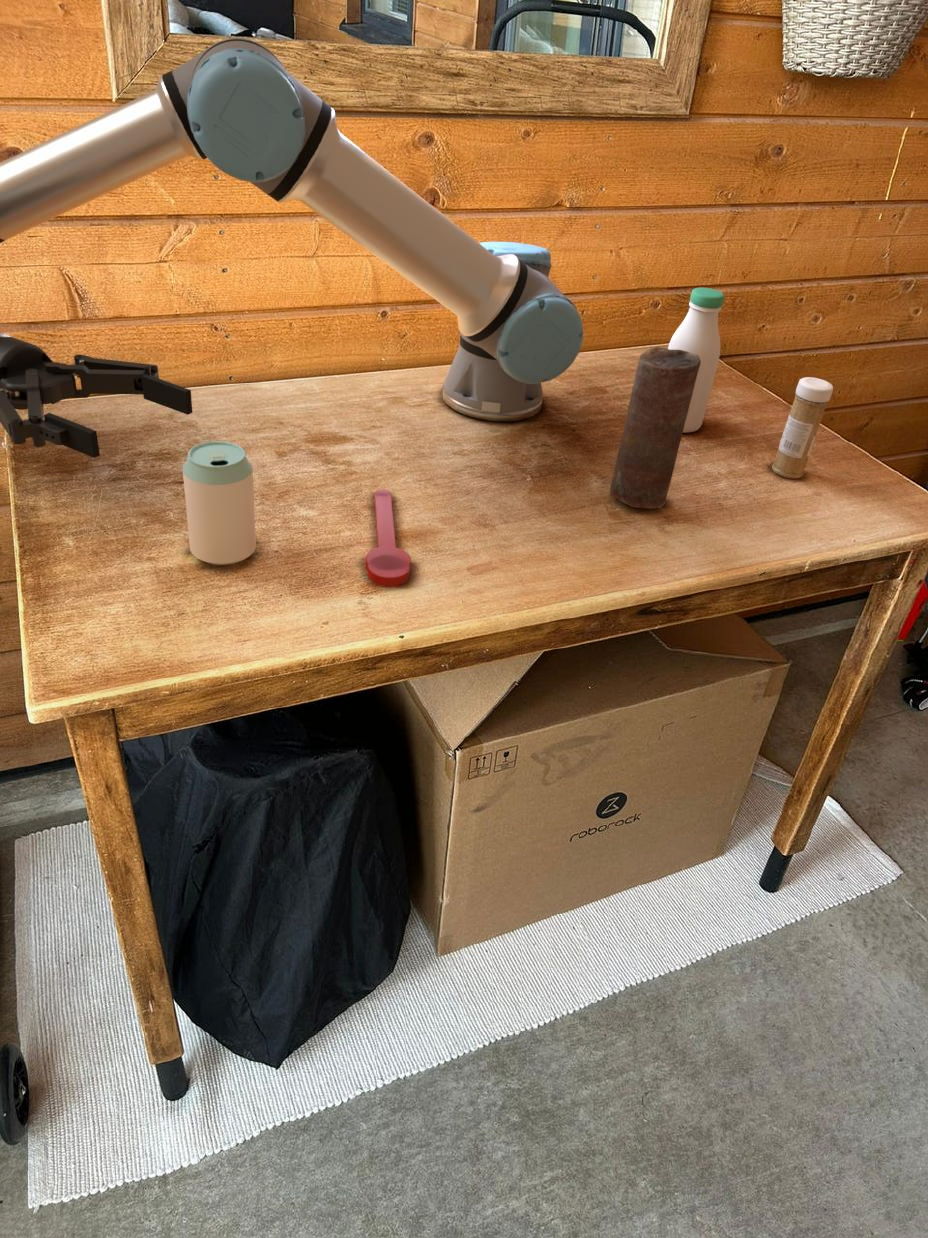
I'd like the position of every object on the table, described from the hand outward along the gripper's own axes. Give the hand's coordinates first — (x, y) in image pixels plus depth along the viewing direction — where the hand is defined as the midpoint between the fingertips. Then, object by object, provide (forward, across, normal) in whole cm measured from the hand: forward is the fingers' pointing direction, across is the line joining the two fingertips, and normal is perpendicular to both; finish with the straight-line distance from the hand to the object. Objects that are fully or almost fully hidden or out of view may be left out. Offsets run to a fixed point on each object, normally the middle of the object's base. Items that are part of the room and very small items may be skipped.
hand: (145, 422), depth 99 cm
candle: (+44, -41, -12) cm, 61 cm away
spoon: (+23, -13, -12) cm, 29 cm away
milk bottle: (+40, -69, -12) cm, 80 cm away
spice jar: (+58, -63, -12) cm, 87 cm away
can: (+10, 0, -12) cm, 16 cm away
